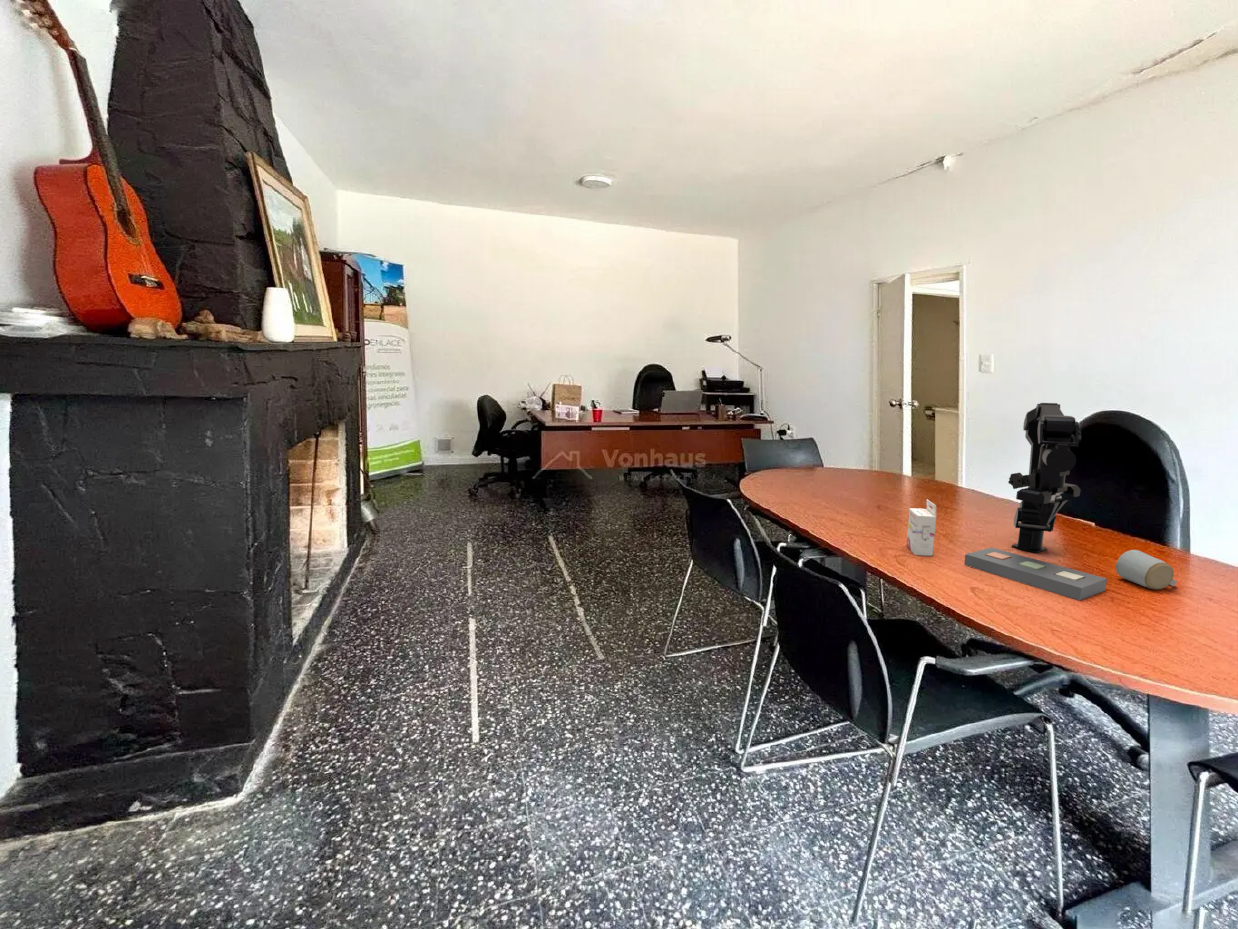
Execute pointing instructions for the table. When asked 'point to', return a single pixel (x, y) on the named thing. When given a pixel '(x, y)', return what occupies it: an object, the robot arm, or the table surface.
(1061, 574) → the cream button
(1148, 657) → the table surface
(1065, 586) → the console
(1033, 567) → the sage button
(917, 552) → the ink cartridge box
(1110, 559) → the table surface
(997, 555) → the terracotta button
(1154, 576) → the ceramic mug
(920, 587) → the table surface
